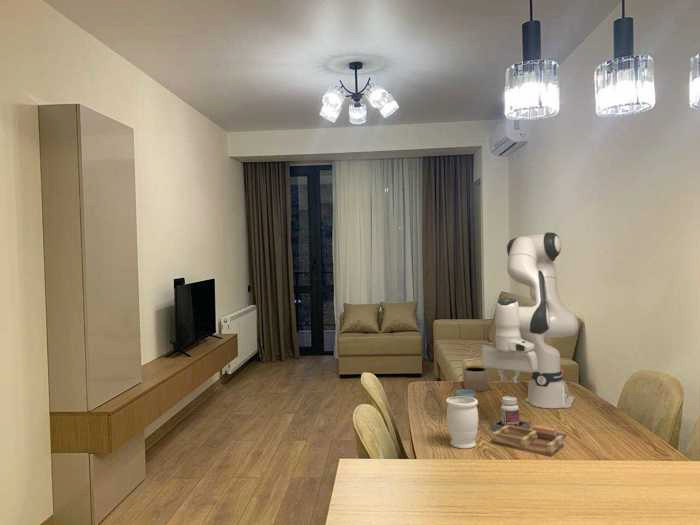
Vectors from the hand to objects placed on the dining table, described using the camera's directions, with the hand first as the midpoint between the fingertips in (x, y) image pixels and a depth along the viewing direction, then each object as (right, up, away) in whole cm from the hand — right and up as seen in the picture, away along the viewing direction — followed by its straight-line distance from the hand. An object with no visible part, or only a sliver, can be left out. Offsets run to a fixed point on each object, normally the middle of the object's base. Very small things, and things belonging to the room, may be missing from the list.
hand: (509, 382), depth 189 cm
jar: (-20, -18, -14) cm, 30 cm away
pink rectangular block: (+8, -17, -12) cm, 22 cm away
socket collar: (0, -17, 0) cm, 17 cm away
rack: (+1, -17, -16) cm, 24 cm away
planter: (+2, -17, +58) cm, 61 cm away
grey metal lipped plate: (+10, -17, -10) cm, 22 cm away
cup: (-13, -18, +14) cm, 26 cm away
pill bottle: (0, -17, 0) cm, 17 cm away
